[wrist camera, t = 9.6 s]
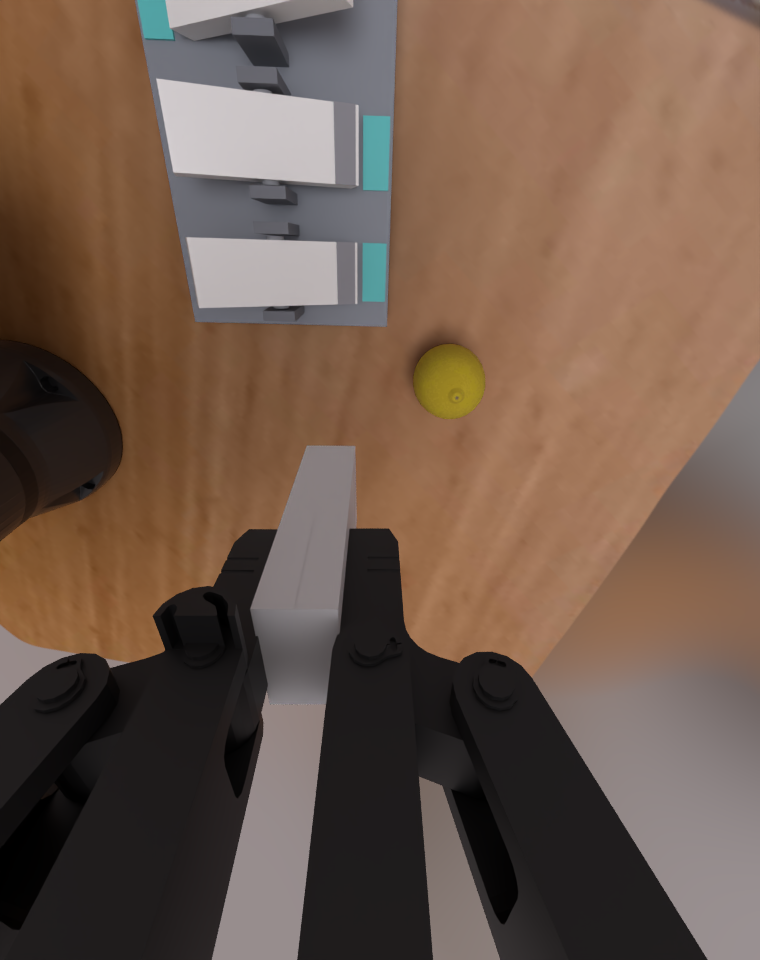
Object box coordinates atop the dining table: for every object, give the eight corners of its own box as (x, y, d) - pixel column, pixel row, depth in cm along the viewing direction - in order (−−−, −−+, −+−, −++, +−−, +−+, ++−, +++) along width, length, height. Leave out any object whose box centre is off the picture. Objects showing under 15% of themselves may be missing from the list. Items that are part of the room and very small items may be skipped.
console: (214, 313, 33) (171, 331, 26) (152, -60, 23) (58, -189, 16) (385, 318, 34) (388, 337, 27) (396, -49, 24) (405, -172, 17)
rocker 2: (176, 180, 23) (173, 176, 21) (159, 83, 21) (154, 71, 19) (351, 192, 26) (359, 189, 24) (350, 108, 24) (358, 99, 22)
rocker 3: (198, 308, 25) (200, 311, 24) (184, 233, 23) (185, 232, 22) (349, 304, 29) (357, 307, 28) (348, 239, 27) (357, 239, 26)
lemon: (397, 359, 35) (403, 387, 28) (453, 321, 34) (474, 341, 27) (429, 410, 38) (442, 447, 31) (484, 376, 36) (510, 407, 29)
